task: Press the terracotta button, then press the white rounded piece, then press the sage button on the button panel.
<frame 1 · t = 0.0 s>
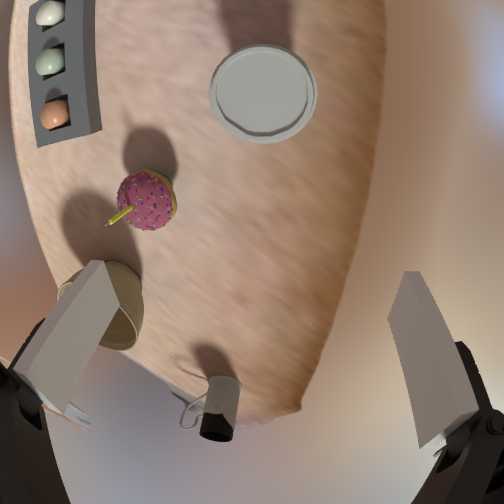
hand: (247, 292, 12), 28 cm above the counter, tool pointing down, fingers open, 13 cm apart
terracotta button: (56, 113, 31), point 3 cm above the counter, slide at 0.0 cm
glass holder: (215, 383, 68), on the counter
disposable coffee cup: (268, 91, 31), on the counter
white rounded piece: (52, 13, 21), point 3 cm above the counter, slide at 0.0 cm
planter bowl: (120, 279, 51), on the counter
button panel: (65, 60, 29), on the counter
cupcake: (158, 187, 40), on the counter
sage button: (52, 61, 26), point 3 cm above the counter, slide at 0.0 cm
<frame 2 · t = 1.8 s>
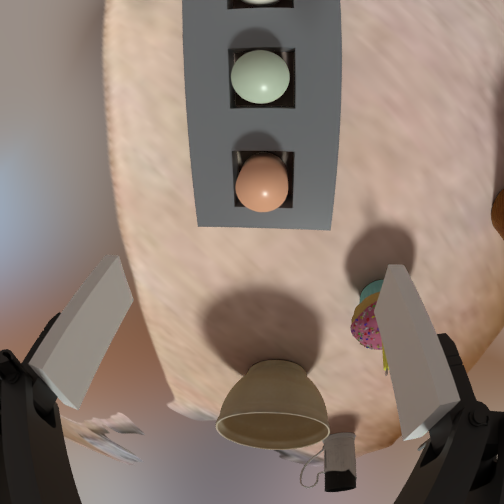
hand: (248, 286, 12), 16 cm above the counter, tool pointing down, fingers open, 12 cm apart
terracotta button: (263, 181, 23), point 3 cm above the counter, slide at 0.0 cm
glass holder: (328, 438, 60), on the counter
planter bowl: (276, 373, 44), on the counter
button panel: (264, 78, 21), on the counter
cupcake: (378, 292, 33), on the counter
sage button: (261, 77, 18), point 3 cm above the counter, slide at 0.0 cm
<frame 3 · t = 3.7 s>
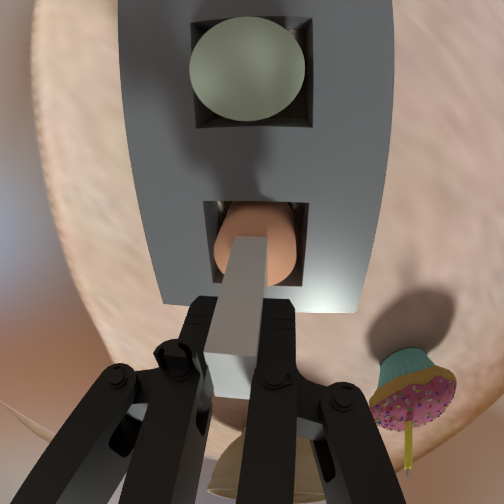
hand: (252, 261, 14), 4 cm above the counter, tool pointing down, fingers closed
terracotta button: (257, 237, 15), point 2 cm above the counter, slide at 1.2 cm, touching gripper
planter bowl: (275, 429, 35), on the counter
button panel: (257, 72, 12), on the counter
cupcake: (403, 359, 24), on the counter
sage button: (251, 69, 10), point 3 cm above the counter, slide at 0.0 cm
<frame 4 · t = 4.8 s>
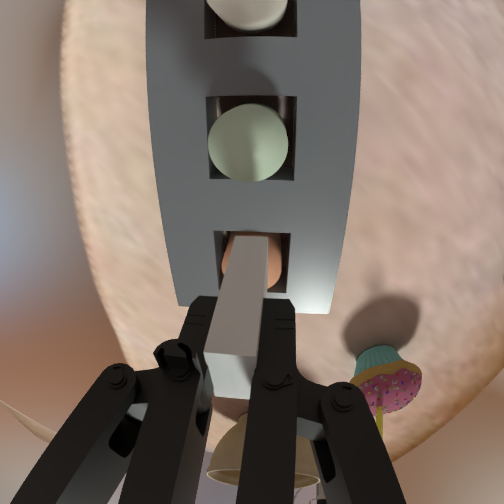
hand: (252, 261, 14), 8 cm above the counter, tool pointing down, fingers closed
terracotta button: (253, 254, 21), point 2 cm above the counter, slide at 1.4 cm
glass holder: (320, 466, 57), on the counter
planter bowl: (267, 420, 40), on the counter
button panel: (255, 130, 18), on the counter
cupcake: (377, 355, 29), on the counter
sage button: (250, 138, 15), point 3 cm above the counter, slide at 0.0 cm
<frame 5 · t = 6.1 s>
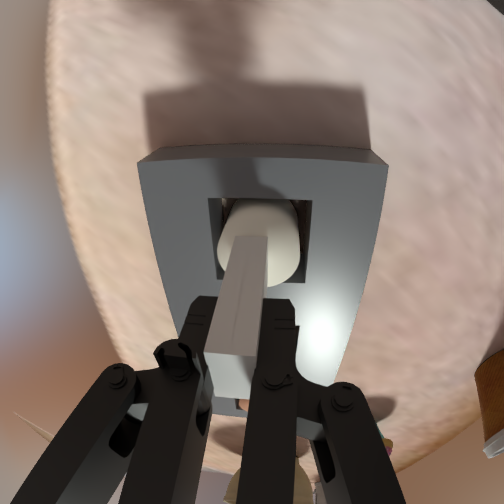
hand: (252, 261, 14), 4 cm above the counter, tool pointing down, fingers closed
terracotta button: (262, 390, 25), point 2 cm above the counter, slide at 1.4 cm
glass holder: (320, 483, 61), on the counter
disposable coffee cup: (493, 363, 25), on the counter
white rounded piece: (261, 237, 15), point 2 cm above the counter, slide at 0.9 cm, touching gripper
planter bowl: (273, 456, 45), on the counter
button panel: (264, 317, 22), on the counter
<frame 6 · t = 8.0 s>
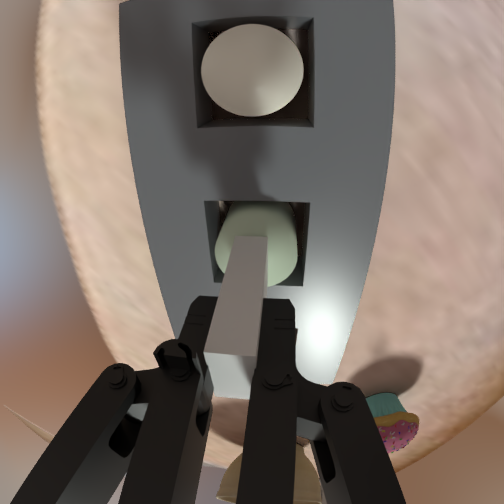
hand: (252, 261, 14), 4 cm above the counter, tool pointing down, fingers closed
white rounded piece: (255, 71, 11), point 2 cm above the counter, slide at 1.4 cm
planter bowl: (274, 446, 40), on the counter
button panel: (261, 219, 17), on the counter
cupcake: (378, 399, 29), on the counter
sage button: (258, 237, 15), point 2 cm above the counter, slide at 1.2 cm
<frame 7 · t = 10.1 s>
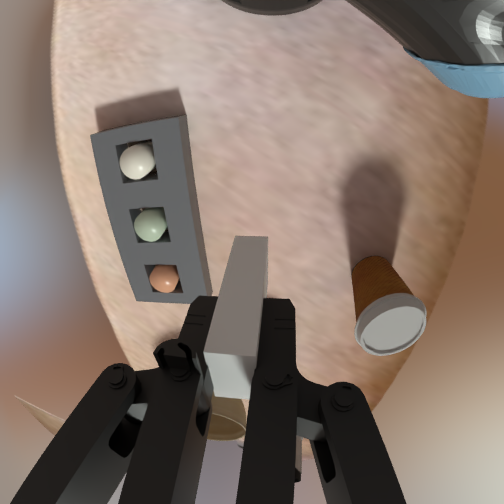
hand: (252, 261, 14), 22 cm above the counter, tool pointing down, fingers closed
terracotta button: (166, 274, 41), point 2 cm above the counter, slide at 1.4 cm
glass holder: (280, 438, 75), on the counter
disposable coffee cup: (371, 272, 40), on the counter
white rounded piece: (140, 159, 32), point 2 cm above the counter, slide at 1.4 cm
planter bowl: (215, 385, 59), on the counter
button panel: (157, 215, 38), on the counter
sage button: (152, 221, 36), point 2 cm above the counter, slide at 1.4 cm
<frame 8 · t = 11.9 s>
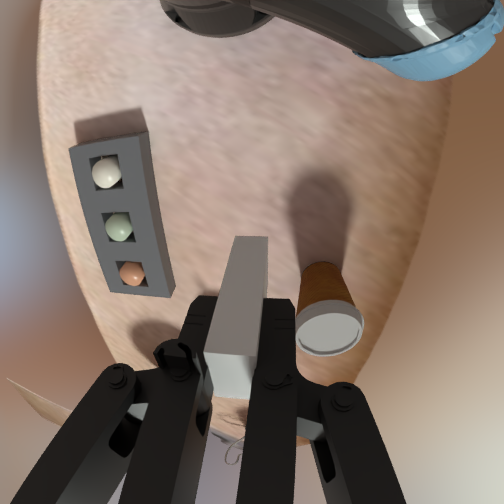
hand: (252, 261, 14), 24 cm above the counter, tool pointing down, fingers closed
terracotta button: (134, 269, 45), point 2 cm above the counter, slide at 1.4 cm
disposable coffee cup: (321, 277, 44), on the counter
white rounded piece: (109, 170, 35), point 2 cm above the counter, slide at 1.4 cm
button panel: (127, 218, 42), on the counter
sage button: (121, 223, 40), point 2 cm above the counter, slide at 1.4 cm
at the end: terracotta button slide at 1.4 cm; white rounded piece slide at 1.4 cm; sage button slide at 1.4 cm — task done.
